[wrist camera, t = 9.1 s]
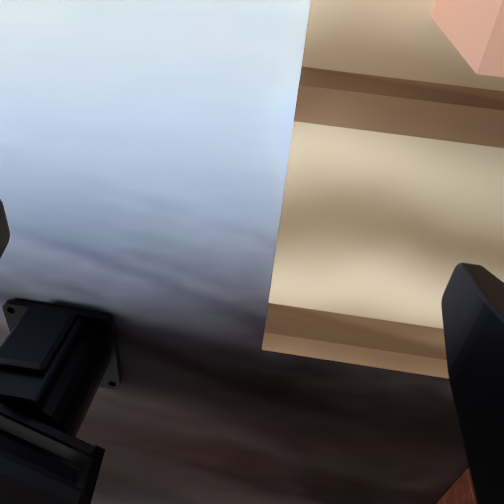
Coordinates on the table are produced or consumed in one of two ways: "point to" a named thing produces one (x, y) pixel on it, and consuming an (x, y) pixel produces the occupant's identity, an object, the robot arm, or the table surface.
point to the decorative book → (460, 491)
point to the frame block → (474, 32)
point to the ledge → (384, 188)
